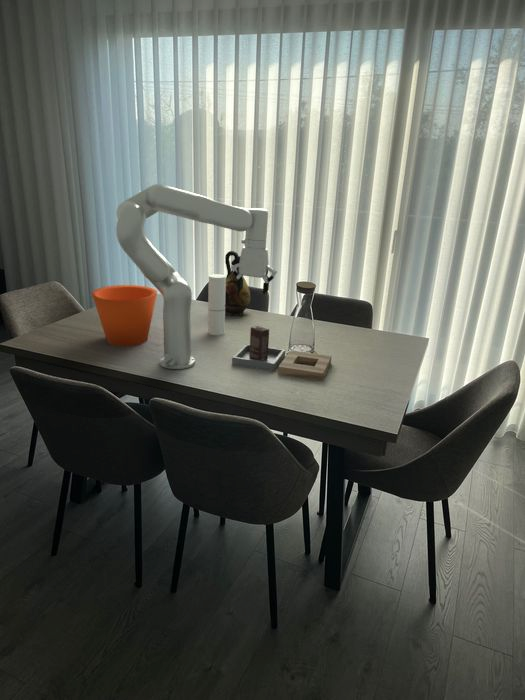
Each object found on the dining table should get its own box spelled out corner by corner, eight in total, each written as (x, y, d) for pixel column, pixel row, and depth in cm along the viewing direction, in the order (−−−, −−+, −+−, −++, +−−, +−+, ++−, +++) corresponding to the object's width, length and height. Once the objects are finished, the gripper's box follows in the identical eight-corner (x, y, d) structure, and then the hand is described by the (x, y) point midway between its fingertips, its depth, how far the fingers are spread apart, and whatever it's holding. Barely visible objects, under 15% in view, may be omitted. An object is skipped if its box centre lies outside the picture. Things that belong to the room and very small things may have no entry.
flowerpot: (111, 354, 193) (108, 303, 186) (85, 336, 211) (81, 289, 204) (169, 342, 208) (168, 295, 201) (141, 326, 226) (139, 282, 219)
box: (268, 359, 193) (269, 329, 189) (260, 362, 190) (261, 331, 186) (256, 355, 197) (258, 325, 192) (248, 358, 193) (249, 327, 189)
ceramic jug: (255, 312, 256) (258, 252, 245) (238, 319, 243) (240, 256, 233) (228, 306, 264) (229, 247, 254) (209, 312, 252) (210, 251, 241)
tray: (274, 371, 184) (274, 363, 183) (232, 365, 188) (232, 357, 187) (284, 356, 199) (285, 349, 198) (245, 351, 203) (245, 344, 202)
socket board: (322, 381, 178) (323, 373, 177) (277, 374, 182) (278, 366, 181) (330, 363, 194) (331, 356, 193) (289, 357, 198) (290, 350, 197)
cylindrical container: (225, 330, 226) (227, 274, 217) (223, 335, 219) (224, 278, 211) (209, 329, 226) (210, 273, 218) (206, 334, 220) (207, 277, 211)
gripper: (229, 242, 181) (226, 290, 187) (275, 248, 177) (271, 296, 182) (236, 240, 188) (234, 286, 194) (281, 245, 183) (278, 292, 189)
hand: (252, 291), depth 188 cm, fingers open, 9 cm apart
